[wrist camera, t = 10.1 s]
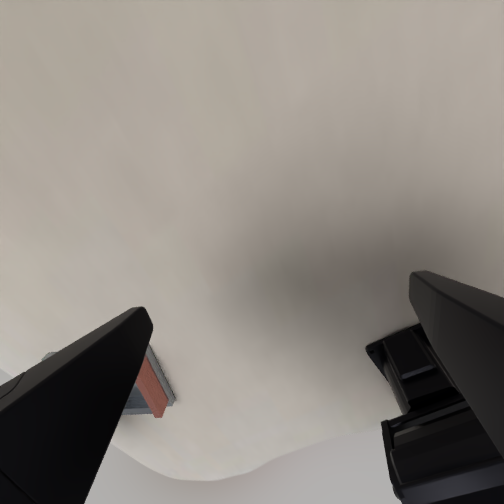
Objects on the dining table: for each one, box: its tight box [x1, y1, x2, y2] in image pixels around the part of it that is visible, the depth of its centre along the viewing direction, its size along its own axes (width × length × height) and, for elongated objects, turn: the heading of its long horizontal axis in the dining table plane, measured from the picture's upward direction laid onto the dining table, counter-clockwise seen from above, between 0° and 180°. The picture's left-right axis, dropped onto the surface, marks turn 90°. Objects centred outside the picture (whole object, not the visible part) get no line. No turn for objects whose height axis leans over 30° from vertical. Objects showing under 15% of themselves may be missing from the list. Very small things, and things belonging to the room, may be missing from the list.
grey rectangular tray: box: [42, 345, 175, 418], centre depth 30 cm, size 13×9×3 cm
